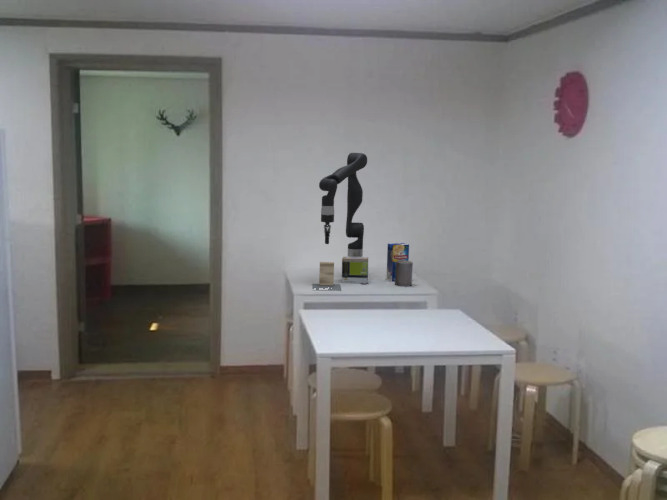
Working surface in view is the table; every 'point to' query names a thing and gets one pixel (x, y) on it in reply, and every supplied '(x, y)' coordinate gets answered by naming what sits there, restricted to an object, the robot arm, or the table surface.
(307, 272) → the table surface
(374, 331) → the table surface
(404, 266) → the pillar candle
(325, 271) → the block
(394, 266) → the blue food box
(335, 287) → the mat
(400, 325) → the table surface
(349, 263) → the tea box
